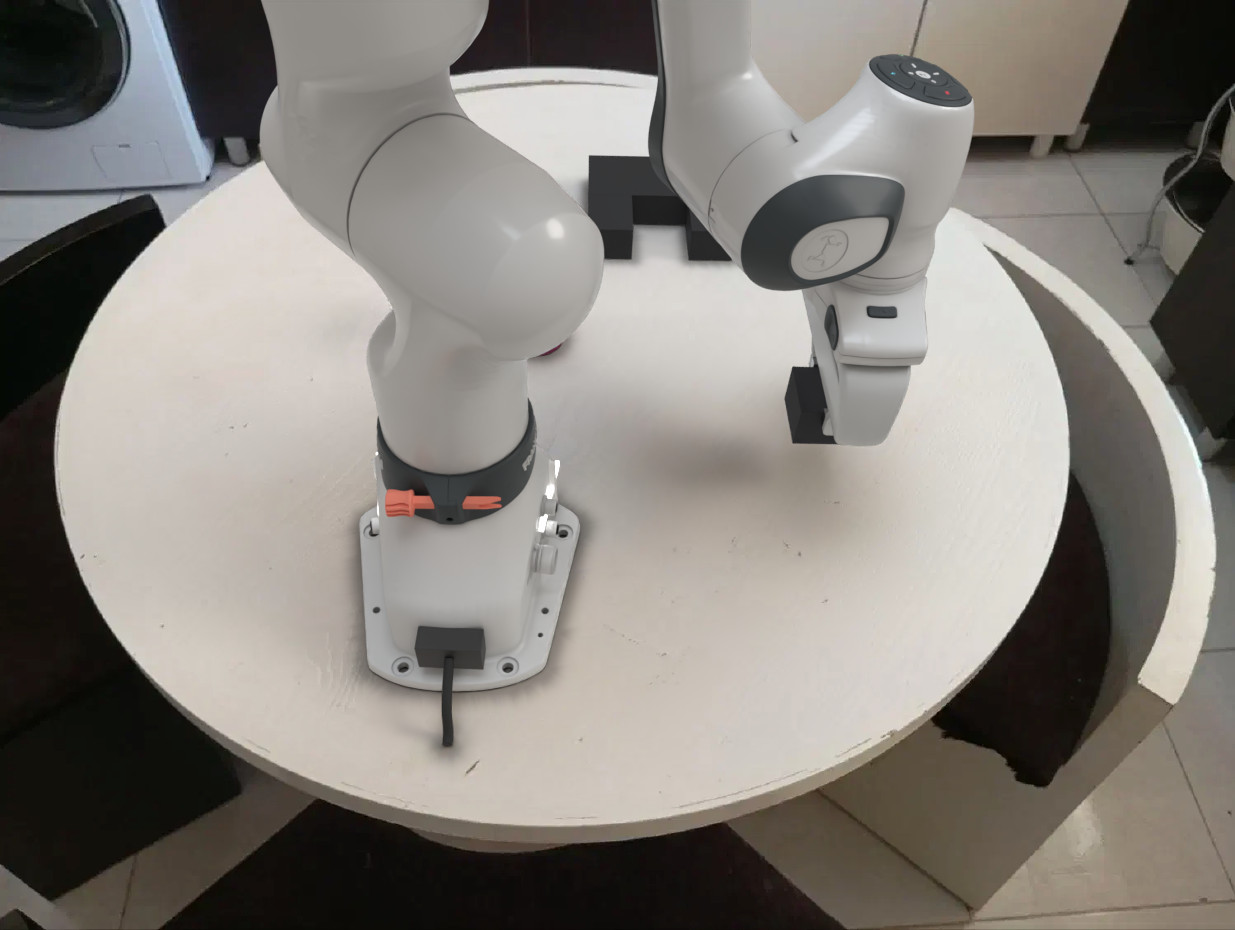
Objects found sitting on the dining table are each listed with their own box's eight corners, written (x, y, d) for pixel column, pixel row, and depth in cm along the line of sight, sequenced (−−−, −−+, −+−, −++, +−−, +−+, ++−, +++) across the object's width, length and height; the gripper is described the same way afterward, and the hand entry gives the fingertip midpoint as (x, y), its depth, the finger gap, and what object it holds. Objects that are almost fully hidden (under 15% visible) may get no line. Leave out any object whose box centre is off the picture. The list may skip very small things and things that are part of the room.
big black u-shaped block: (731, 261, 110) (736, 231, 107) (587, 258, 110) (588, 229, 107) (721, 186, 119) (725, 157, 116) (588, 184, 119) (588, 155, 116)
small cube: (855, 445, 86) (866, 413, 83) (792, 444, 86) (801, 411, 83) (844, 399, 89) (854, 367, 86) (784, 398, 89) (792, 366, 86)
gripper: (802, 191, 82) (773, 319, 92) (844, 363, 68) (805, 490, 79) (878, 194, 82) (840, 321, 92) (934, 366, 69) (883, 491, 79)
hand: (824, 400), depth 85 cm, fingers closed on small cube, 5 cm apart
